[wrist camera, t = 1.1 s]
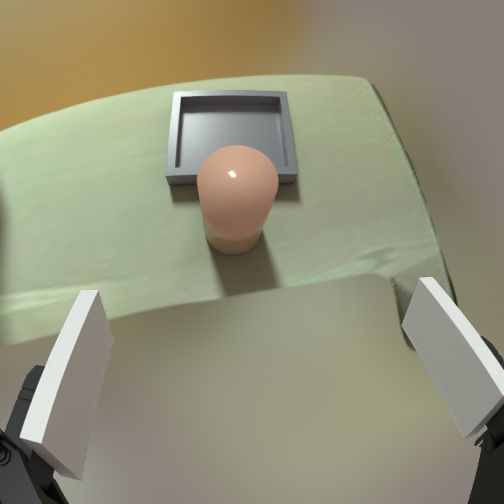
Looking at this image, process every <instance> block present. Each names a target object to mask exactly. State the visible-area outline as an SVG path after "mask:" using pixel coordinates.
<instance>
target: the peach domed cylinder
mask: <svg viewBox="0 0 504 504" xmlns="http://www.w3.org/2000/svg"><path fill="white" fill-rule="evenodd" d="M197 187H198V193H199V200H200V206H201V212H202V218H203V224H204V231H205V235H206V238H207V240H208V242H209V243H210V245H211V246H212V247H213V248H214V249H216V250H217V251H219V252H221V253H224V254H228V255H238V254H242V253H245V252H247V251H249V250H250V249H251V248H252V247H253V246H254V245H255V244H256V243H257V241H258V239H259V237H260V234H261V232H262V229H263V227H264V224H265V221H266V219H267V216H268V214H269V211H270V209H271V206H272V203H273V201H274V198H275V196H276V193H277V190H278V174H277V171H276V169H275V166H274V165H273V163H272V162H271V160H270V159H269V158H268V157H267V156H266V155H264V154H263V153H262V152H260V151H258V150H256V149H254V148H251V147H248V146H242V145H231V146H226V147H223V148H220V149H218V150H216V151H214V152H213V153H211V154H210V155H209V156H208V157H207V158H206V159H205V160H204V161H203V163H202V164H201V166H200V168H199V171H198V175H197Z"/></svg>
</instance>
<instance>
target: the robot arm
mask: <svg viewBox="0 0 504 504" xmlns="http://www.w3.org/2000/svg"><path fill="white" fill-rule="evenodd" d="M402 327H403V329H404V330H405V332H406V334H407V335H408V337H409V339H410V340H411V342H412V344H413V346H414V347H415V349H416V351H417V352H418V354H419V356H420V358H421V359H422V361H423V363H424V365H425V366H426V368H427V370H428V372H429V374H430V375H431V377H432V379H433V381H434V382H435V384H436V386H437V388H438V390H439V392H440V394H441V396H442V398H443V399H444V401H445V403H446V405H447V407H448V409H449V411H450V413H451V415H452V417H453V419H454V421H455V423H456V425H457V427H458V429H459V431H460V433H461V435H462V437H463V439H466V438H468V437H470V436H472V435H474V434H476V433H478V432H479V431H480V429H482V428H483V427H484V425H485V424H486V426H487V428H488V429H487V430H486V431H485V432H484V433H483V434H482V435H481V436H480V437H479V438H478V439H477V440H476V442H475V444H474V445H475V446H476V445H477V444H479V443H480V442H481V441H482V440H483V442H482V443H481V444H480V446H479V447H481V448H482V449H481V454H480V458H479V463H478V468H477V472H476V476H475V480H474V483H473V487H472V491H471V494H470V498H469V501H468V504H504V362H503V358H502V357H501V356H500V355H499V354H498V351H497V350H496V349H495V348H494V346H493V345H492V343H490V342H489V341H488V340H487V339H486V338H484V337H483V336H481V337H480V336H479V335H478V333H477V332H476V331H475V329H474V328H473V327H472V325H471V324H470V323H469V322H468V320H467V319H466V317H464V315H463V314H462V312H461V311H460V310H459V309H458V307H457V306H456V305H455V304H454V302H453V301H452V300H451V299H450V297H449V296H448V295H447V294H446V293H445V291H444V290H443V289H442V288H441V287H440V285H439V284H438V283H437V282H436V281H435V280H434V278H433V277H425V278H419V280H418V283H417V285H416V288H415V291H414V294H413V297H412V300H411V302H410V305H409V308H408V310H407V313H406V315H405V318H404V321H403V323H402ZM114 341H115V340H114V338H113V335H112V332H111V329H110V326H109V323H108V320H107V317H106V314H105V311H104V308H103V304H102V301H101V298H100V295H99V291H98V290H81V292H80V294H79V296H78V297H77V299H76V301H75V303H74V305H73V307H72V309H71V311H70V313H69V315H68V317H67V320H66V322H65V324H64V326H63V328H62V330H61V332H60V334H59V337H58V339H57V341H56V343H55V345H54V348H53V350H52V352H51V354H50V357H49V359H48V362H47V364H46V366H39V365H36V366H35V367H34V368H33V369H32V370H31V371H30V372H29V374H27V376H26V378H25V381H24V383H23V385H22V390H20V393H19V395H18V400H16V403H15V405H14V408H13V411H12V413H11V416H10V419H9V422H8V424H7V427H6V430H5V433H4V432H3V431H2V430H1V429H0V504H69V503H68V501H67V500H66V498H65V496H64V494H63V493H62V491H61V489H60V487H59V486H58V484H57V482H56V480H55V479H54V478H53V473H54V470H55V471H57V472H58V473H59V474H60V475H61V476H64V477H68V478H72V479H77V480H82V476H83V471H84V465H85V459H86V454H87V449H88V444H89V439H90V434H91V430H92V425H93V421H94V416H95V412H96V408H97V404H98V400H99V396H100V392H101V388H102V384H103V380H104V376H105V373H106V369H107V366H108V362H109V358H110V355H111V351H112V348H113V345H114Z"/></svg>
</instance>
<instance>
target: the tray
mask: <svg viewBox="0 0 504 504" xmlns="http://www.w3.org/2000/svg"><path fill="white" fill-rule="evenodd" d="M231 145H242V146H248V147H251V148H254V149H256V150H258V151H260V152H262V153H263V154H264V155H266V156H267V157H268V158H269V159H270V160H271V162H272V163H273V165H274V166H275V169H276V171H277V174H278V184H294V181H295V179H296V177H297V175H298V171H297V163H296V155H295V148H294V140H293V133H292V126H291V119H290V112H289V105H288V98H287V92H280V91H256V90H204V91H181V92H174V96H173V104H172V113H171V122H170V132H169V142H168V153H167V165H166V178H167V181H168V184H169V185H193V184H197V175H198V171H199V168H200V166H201V164H202V163H203V161H204V160H205V159H206V158H207V157H208V156H209V155H210V154H211V153H213V152H214V151H216V150H218V149H220V148H223V147H226V146H231Z"/></svg>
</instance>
